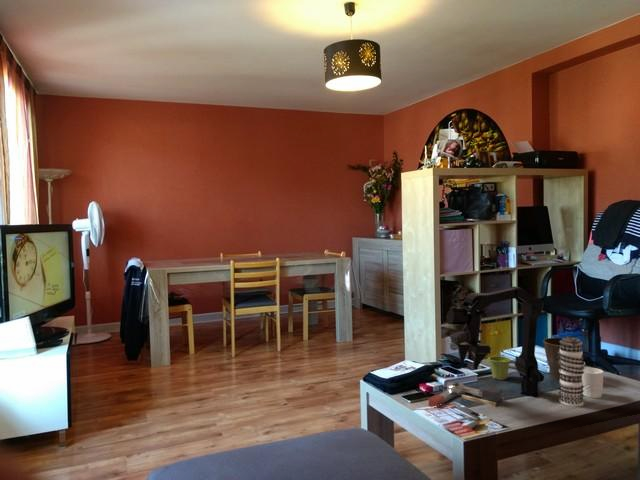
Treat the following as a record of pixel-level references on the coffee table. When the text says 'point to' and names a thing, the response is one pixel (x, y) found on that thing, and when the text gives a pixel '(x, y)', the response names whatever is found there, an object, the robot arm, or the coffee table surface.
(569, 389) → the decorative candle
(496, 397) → the socket
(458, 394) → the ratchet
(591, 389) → the white cup
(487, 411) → the coffee table surface
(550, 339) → the plant pot
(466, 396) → the guide rails
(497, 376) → the plant pot
